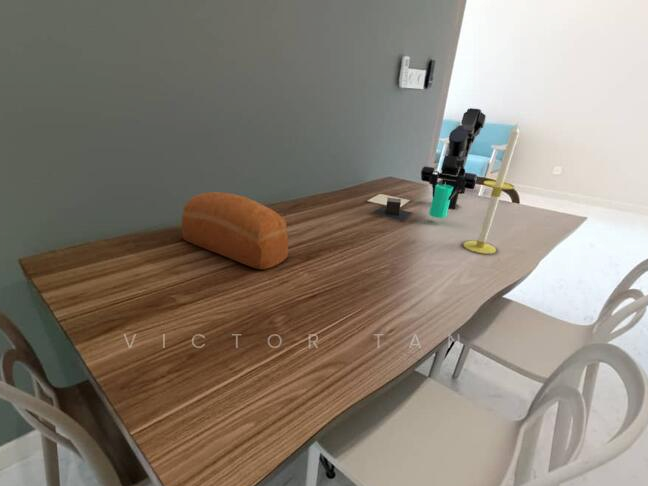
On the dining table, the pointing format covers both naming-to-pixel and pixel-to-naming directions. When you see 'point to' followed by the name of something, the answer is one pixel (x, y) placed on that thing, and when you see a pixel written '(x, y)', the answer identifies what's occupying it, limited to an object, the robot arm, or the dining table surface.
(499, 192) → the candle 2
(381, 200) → the cream pad
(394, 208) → the charcoal block
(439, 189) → the candle
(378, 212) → the charcoal mat
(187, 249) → the dining table surface
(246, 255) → the bread
